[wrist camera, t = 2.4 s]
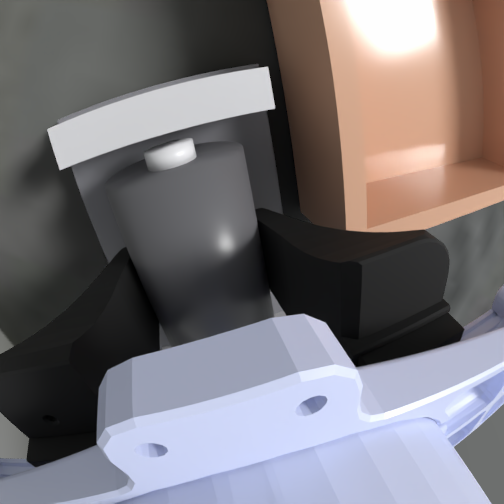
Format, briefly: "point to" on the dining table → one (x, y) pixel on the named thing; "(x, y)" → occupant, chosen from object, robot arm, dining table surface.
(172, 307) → the cell
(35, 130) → the dining table surface
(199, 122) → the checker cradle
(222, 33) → the dining table surface
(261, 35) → the dining table surface
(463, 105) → the bin
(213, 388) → the robot arm
